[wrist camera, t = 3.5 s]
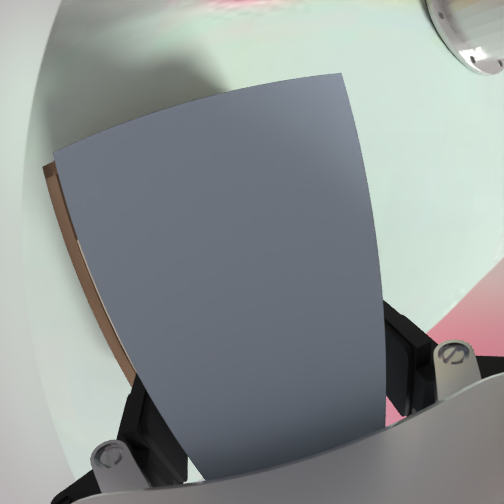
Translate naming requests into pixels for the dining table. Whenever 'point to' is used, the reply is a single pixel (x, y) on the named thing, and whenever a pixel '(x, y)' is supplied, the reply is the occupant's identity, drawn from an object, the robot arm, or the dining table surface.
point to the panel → (240, 269)
